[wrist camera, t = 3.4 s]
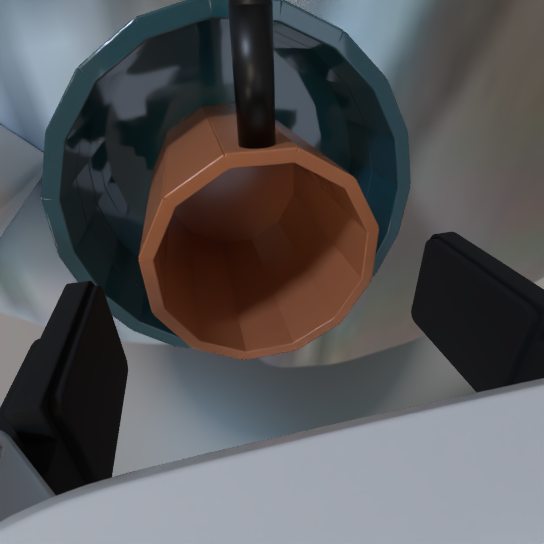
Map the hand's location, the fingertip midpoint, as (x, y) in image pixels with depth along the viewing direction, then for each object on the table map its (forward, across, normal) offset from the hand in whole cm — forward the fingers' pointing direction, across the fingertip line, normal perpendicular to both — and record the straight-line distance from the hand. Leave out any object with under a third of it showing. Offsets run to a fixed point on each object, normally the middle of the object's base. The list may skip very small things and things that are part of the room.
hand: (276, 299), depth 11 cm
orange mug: (+10, 0, -2) cm, 10 cm away
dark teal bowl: (+11, 0, -1) cm, 11 cm away
